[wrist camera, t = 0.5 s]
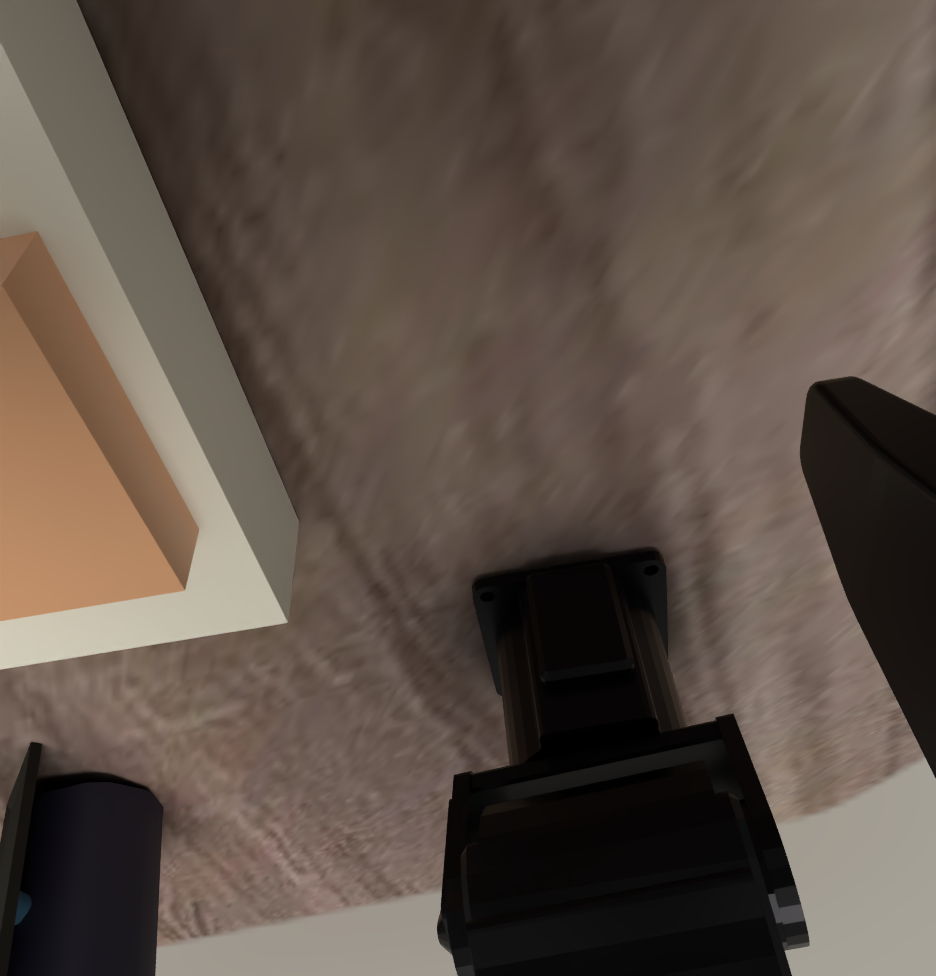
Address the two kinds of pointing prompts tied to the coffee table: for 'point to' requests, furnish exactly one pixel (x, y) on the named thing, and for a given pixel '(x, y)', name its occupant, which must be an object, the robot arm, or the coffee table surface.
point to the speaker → (79, 879)
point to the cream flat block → (136, 342)
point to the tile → (74, 459)
